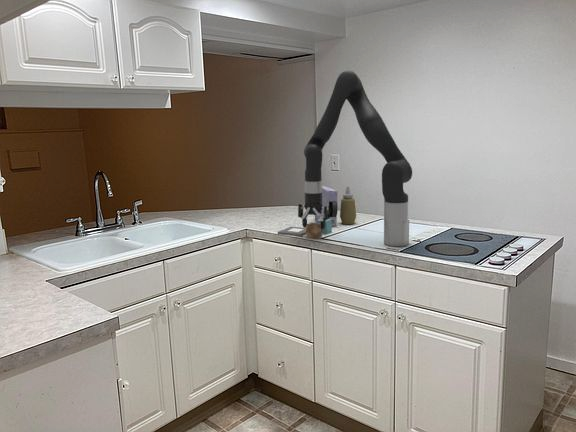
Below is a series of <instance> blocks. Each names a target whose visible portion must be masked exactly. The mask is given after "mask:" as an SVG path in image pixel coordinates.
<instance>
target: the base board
mask: <svg viewBox="0 0 576 432" xmlns="http://www.w3.org/2000/svg"><path fill="white" fill-rule="evenodd" d="M277 235H284V236H285V235H286V236H291V237H292V236H293V237H300V238H301V237H303V236H306V228H304V227H301V226H300V227H299V226H288V227H286V228H284V229H281V230H280V231H277Z"/></svg>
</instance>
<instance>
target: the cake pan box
mask: <svg viewBox="0 0 576 432" xmlns="http://www.w3.org/2000/svg"><path fill="white" fill-rule="evenodd" d="M322 205H323V206H327V205H328V206H329V215H330V219H332V227H337V226H338V225H337V224H338V223H337V220H338V219H337V216H338V209H339V207H338V190H336V189H332V188H330V187H327V186H325V185H322ZM321 211H322V212H323V214H324V211H323V209H322V210H321ZM319 214H320V213H319ZM319 219H320V218H319V217H318V216H317V215H314V220H315V221H316V222H317V220H319Z"/></svg>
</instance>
